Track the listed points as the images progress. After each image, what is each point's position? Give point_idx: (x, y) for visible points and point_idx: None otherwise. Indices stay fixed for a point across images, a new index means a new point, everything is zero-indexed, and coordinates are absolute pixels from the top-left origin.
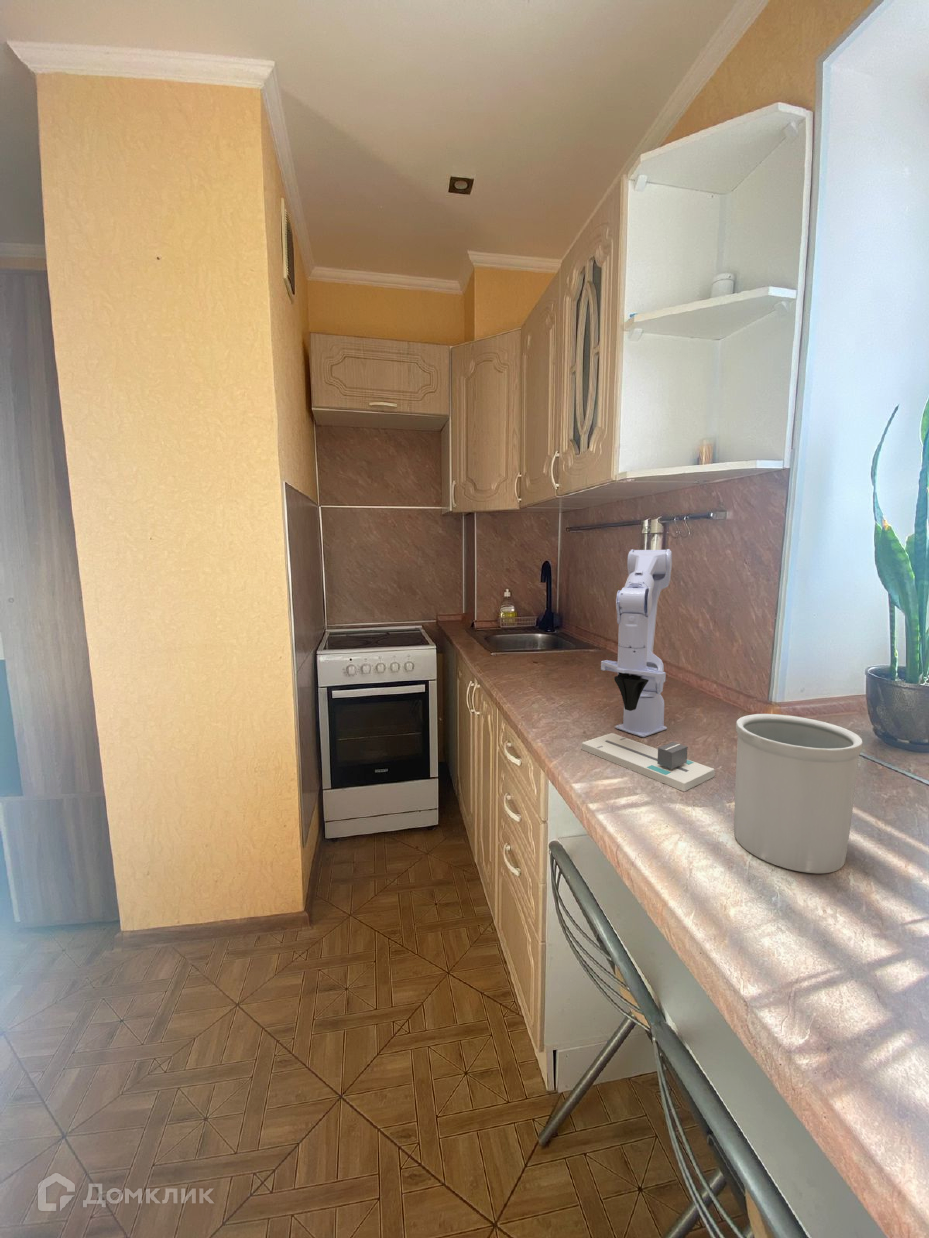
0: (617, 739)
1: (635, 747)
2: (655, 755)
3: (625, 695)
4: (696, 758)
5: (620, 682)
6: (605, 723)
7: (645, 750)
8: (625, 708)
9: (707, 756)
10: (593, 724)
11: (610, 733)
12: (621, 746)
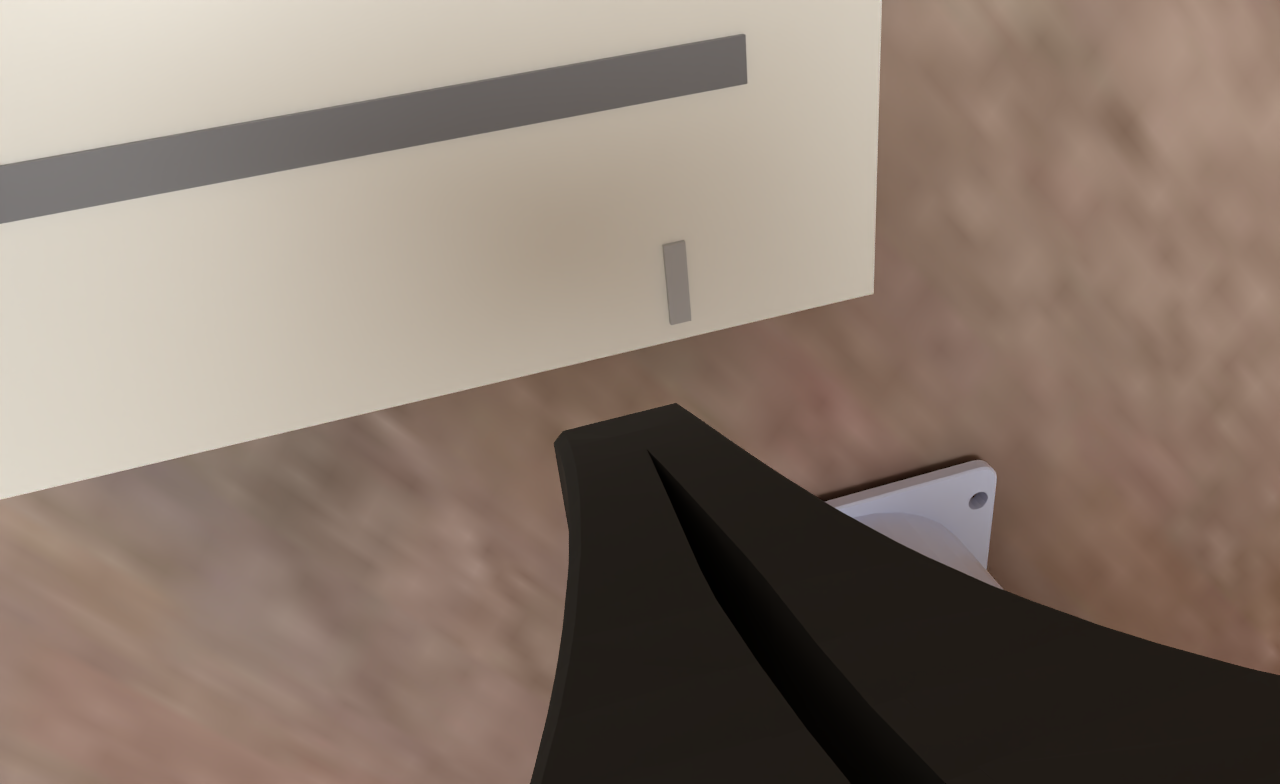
0: (701, 219)
1: (404, 242)
2: (78, 290)
3: (760, 578)
4: (57, 674)
5: (1107, 776)
6: (1106, 453)
7: (273, 288)
8: (666, 412)
9: (68, 772)
10: (1169, 346)
11: (866, 267)
12: (500, 99)
